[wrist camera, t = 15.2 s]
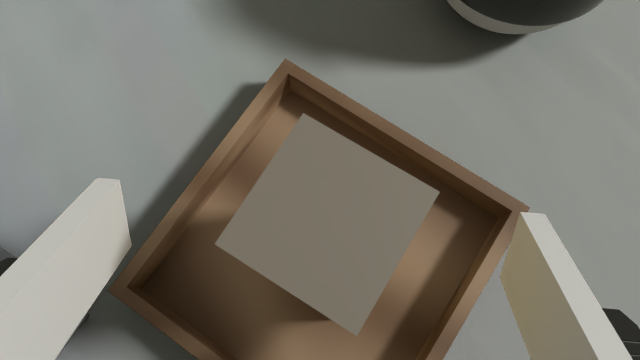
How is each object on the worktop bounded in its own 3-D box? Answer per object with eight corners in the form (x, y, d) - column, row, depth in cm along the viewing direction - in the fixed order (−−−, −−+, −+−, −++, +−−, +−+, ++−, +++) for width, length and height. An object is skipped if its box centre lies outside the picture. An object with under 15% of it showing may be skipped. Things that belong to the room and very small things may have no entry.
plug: (314, 205, 24) (303, 113, 13) (384, 248, 24) (439, 191, 12) (270, 274, 23) (214, 244, 12) (341, 320, 23) (357, 336, 11)
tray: (288, 80, 27) (285, 58, 24) (510, 217, 25) (530, 207, 22) (129, 292, 24) (107, 290, 22) (364, 467, 22) (368, 487, 19)
